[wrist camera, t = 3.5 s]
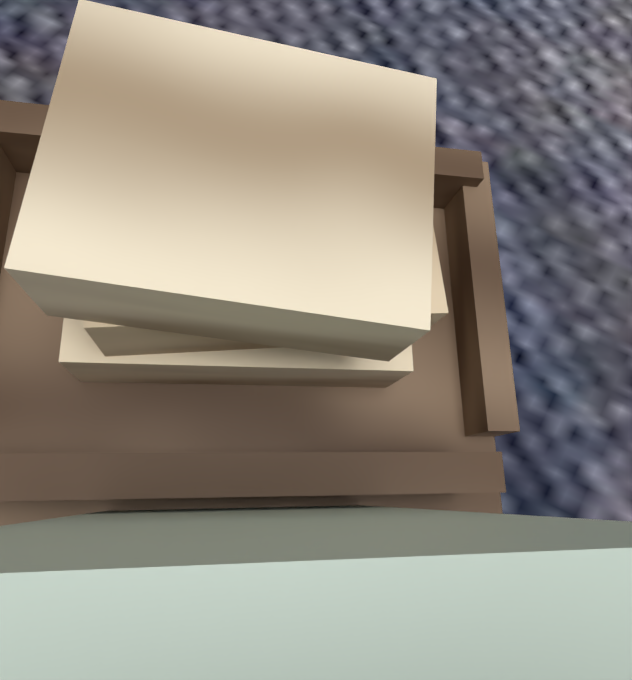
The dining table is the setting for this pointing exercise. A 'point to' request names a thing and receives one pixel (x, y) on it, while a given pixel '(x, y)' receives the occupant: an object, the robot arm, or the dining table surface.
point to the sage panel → (315, 595)
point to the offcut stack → (230, 209)
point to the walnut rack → (262, 396)
